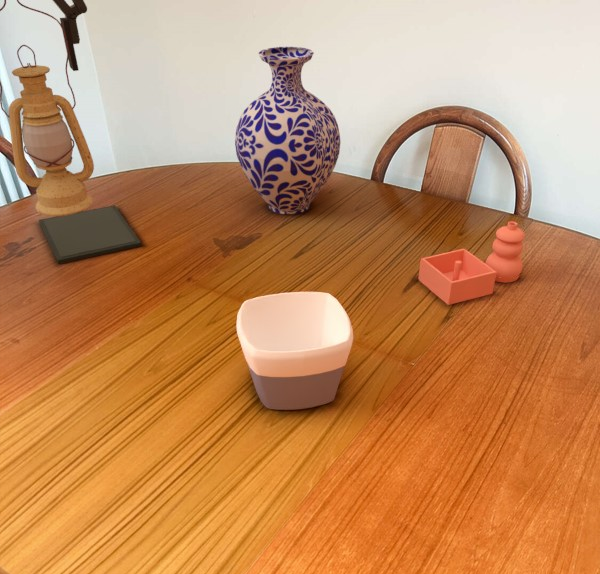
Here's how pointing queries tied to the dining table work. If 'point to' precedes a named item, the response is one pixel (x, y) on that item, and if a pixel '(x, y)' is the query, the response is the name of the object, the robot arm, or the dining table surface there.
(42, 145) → the lantern
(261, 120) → the vase
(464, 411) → the dining table surface
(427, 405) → the dining table surface
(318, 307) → the bowl
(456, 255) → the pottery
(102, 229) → the placemat
